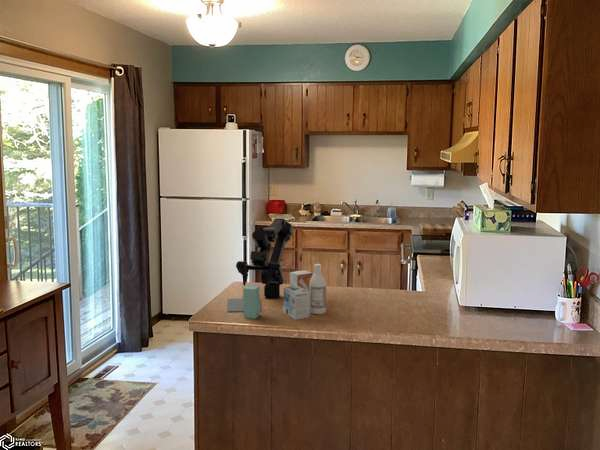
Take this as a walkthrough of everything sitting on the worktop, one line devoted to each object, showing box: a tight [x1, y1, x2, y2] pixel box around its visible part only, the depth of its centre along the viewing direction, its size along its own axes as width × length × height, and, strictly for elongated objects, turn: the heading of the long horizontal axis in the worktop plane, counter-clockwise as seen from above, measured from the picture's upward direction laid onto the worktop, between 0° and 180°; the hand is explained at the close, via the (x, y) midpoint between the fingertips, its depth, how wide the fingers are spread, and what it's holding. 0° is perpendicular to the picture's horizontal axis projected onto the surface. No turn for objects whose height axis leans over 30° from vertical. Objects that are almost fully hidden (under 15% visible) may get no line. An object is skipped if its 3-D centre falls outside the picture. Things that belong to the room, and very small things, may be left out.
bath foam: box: [309, 263, 327, 315], centre depth 222 cm, size 7×7×20 cm
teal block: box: [242, 284, 261, 320], centre depth 216 cm, size 5×5×12 cm
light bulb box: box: [283, 286, 310, 321], centre depth 219 cm, size 11×7×11 cm, turn 29°
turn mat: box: [226, 298, 262, 313], centre depth 232 cm, size 14×18×1 cm
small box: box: [289, 269, 313, 291], centre depth 238 cm, size 8×6×13 cm
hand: (254, 286), depth 220 cm, fingers open, 9 cm apart
